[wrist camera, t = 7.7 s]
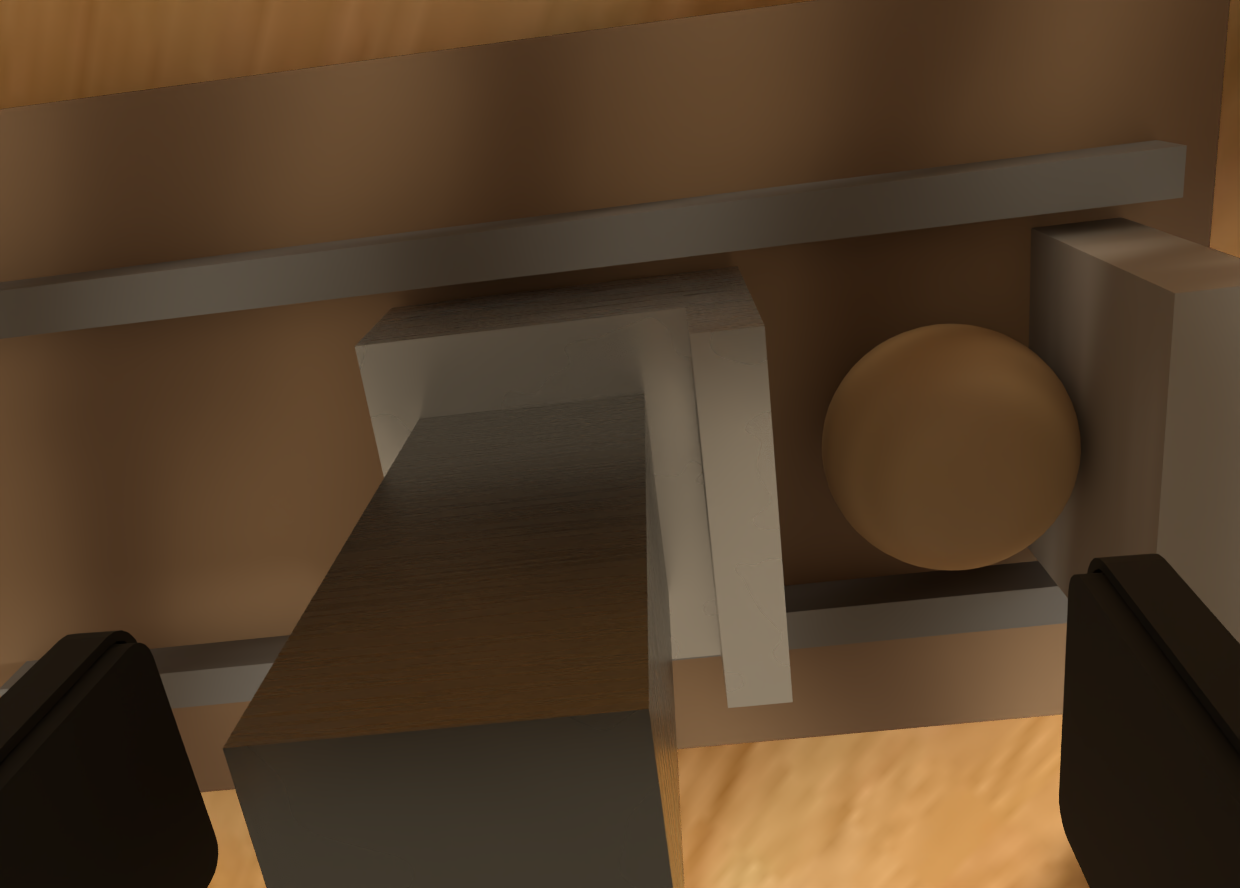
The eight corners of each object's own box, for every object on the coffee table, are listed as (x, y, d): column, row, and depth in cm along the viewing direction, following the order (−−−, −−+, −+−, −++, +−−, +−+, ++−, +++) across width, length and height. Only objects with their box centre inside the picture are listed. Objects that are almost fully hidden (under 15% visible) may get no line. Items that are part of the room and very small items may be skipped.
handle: (737, 266, 17) (864, 545, 8) (763, 577, 20) (889, 1109, 10) (392, 307, 18) (88, 625, 8) (454, 608, 20) (273, 1151, 10)
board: (1185, -48, 17) (1484, -101, 11) (1137, 663, 22) (1326, 894, 16) (-168, 133, 19) (-558, 174, 13) (72, 762, 24) (-124, 1008, 18)
